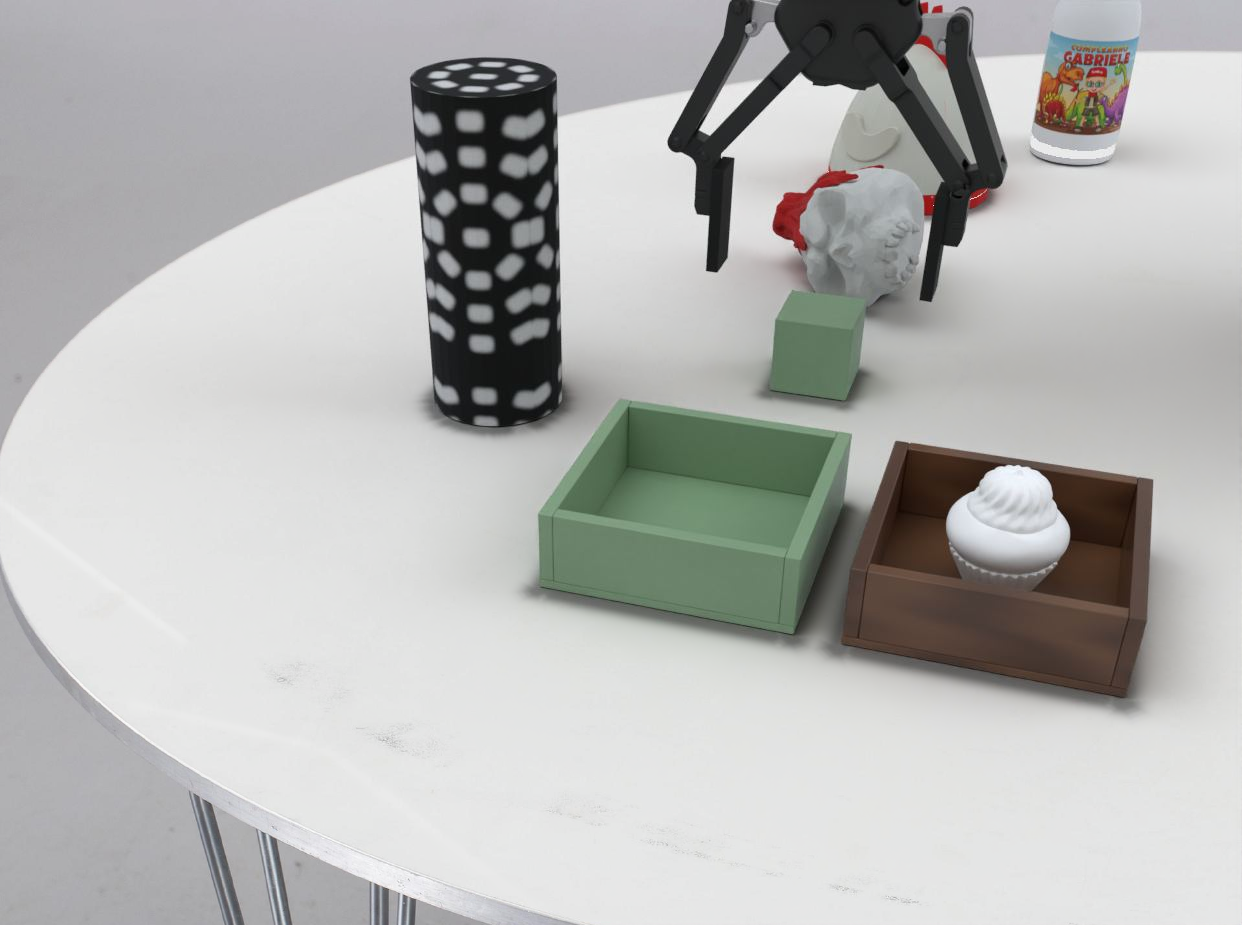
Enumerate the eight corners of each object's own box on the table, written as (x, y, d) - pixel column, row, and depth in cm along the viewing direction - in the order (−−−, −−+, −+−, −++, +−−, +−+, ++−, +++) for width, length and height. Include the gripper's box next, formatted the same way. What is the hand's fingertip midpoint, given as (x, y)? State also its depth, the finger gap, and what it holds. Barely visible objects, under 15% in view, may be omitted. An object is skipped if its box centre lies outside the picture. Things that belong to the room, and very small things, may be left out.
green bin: (843, 503, 82) (852, 433, 80) (793, 635, 72) (800, 559, 69) (618, 466, 86) (619, 397, 83) (539, 586, 75) (537, 513, 73)
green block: (859, 369, 96) (867, 298, 93) (845, 401, 93) (853, 329, 90) (786, 359, 98) (791, 289, 95) (769, 390, 94) (775, 318, 91)
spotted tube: (421, 422, 90) (393, 94, 78) (449, 365, 97) (428, 55, 85) (551, 430, 89) (543, 100, 77) (571, 372, 96) (567, 59, 84)
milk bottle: (1014, 143, 135) (1054, -92, 123) (1090, 138, 136) (1137, -95, 125) (1049, 169, 129) (1095, -75, 117) (1128, 164, 130) (1182, -78, 118)
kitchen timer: (900, 151, 133) (922, -23, 124) (1020, 191, 125) (1053, 6, 116) (794, 183, 126) (809, 1, 117) (914, 227, 118) (940, 34, 109)
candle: (890, 328, 100) (727, 294, 110) (979, 282, 107) (818, 253, 116) (892, 198, 96) (721, 174, 105) (985, 158, 102) (816, 139, 111)
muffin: (1081, 591, 74) (1110, 472, 70) (1007, 635, 71) (1033, 514, 67) (985, 541, 78) (1007, 426, 74) (911, 582, 75) (929, 464, 71)
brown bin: (1134, 550, 78) (1153, 478, 75) (1125, 698, 68) (1147, 620, 65) (885, 509, 82) (895, 439, 79) (840, 643, 71) (850, 568, 69)
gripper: (1101, -89, 78) (1026, 283, 91) (661, -118, 84) (649, 233, 97) (1093, -63, 72) (1015, 329, 85) (623, -97, 79) (615, 273, 91)
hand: (820, 279), depth 91 cm, fingers open, 13 cm apart
